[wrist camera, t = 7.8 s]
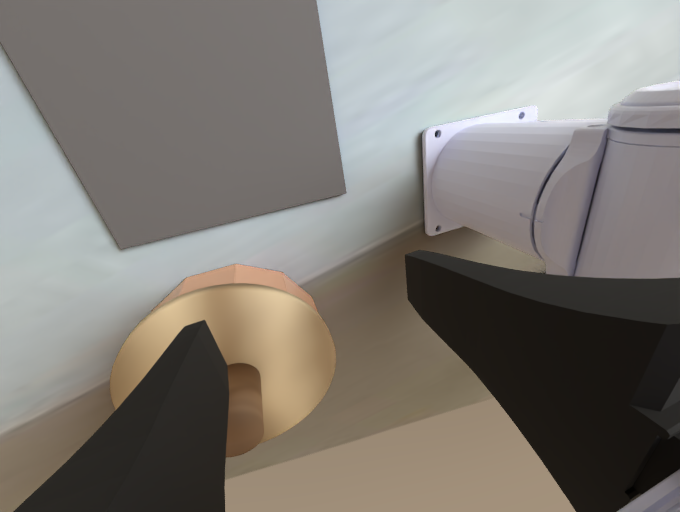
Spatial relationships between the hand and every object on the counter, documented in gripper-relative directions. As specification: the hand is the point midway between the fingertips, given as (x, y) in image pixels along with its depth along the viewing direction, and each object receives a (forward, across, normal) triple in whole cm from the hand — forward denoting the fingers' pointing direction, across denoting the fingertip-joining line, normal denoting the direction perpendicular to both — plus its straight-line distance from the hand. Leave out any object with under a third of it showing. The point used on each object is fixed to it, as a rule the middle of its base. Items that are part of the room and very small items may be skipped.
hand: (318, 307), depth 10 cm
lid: (+6, +5, +7) cm, 11 cm away
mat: (+10, +2, -8) cm, 13 cm away
